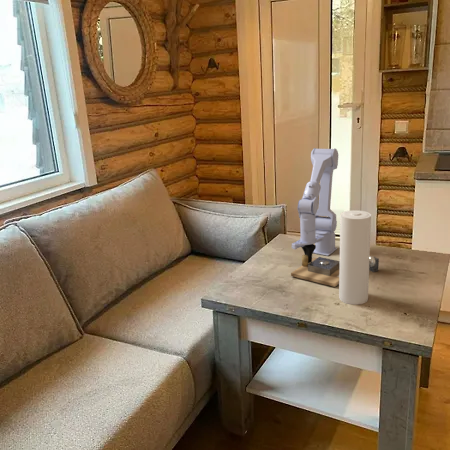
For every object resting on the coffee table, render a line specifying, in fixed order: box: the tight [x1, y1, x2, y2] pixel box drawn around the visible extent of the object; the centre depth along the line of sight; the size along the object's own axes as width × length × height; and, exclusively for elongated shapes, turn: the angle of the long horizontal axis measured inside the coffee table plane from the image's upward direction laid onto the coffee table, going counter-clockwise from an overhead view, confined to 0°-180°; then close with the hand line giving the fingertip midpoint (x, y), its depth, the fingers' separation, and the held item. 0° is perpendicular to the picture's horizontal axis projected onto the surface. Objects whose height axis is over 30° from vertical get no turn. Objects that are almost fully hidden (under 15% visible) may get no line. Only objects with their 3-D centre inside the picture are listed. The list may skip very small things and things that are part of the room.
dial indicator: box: [369, 255, 380, 273], centre depth 172 cm, size 3×4×6 cm
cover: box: [308, 256, 340, 276], centre depth 173 cm, size 9×9×3 cm
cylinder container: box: [338, 209, 372, 306], centre depth 149 cm, size 9×9×30 cm
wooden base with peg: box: [290, 254, 340, 288], centre depth 172 cm, size 18×18×5 cm
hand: (308, 261), depth 178 cm, fingers closed, pressing on wooden base with peg
